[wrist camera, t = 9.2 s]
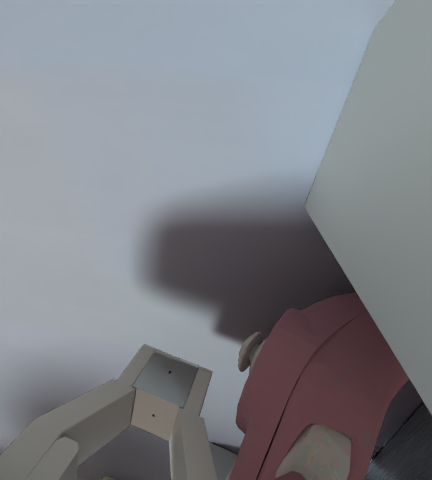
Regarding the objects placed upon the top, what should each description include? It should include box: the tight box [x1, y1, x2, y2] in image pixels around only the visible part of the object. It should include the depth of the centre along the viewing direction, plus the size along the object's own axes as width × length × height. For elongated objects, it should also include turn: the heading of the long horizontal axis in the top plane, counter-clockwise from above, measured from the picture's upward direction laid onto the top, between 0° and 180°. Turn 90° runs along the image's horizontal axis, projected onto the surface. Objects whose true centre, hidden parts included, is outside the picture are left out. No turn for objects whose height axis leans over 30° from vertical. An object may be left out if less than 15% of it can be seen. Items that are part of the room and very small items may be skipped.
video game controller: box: [226, 292, 410, 480], centre depth 8 cm, size 10×5×7 cm, turn 172°
